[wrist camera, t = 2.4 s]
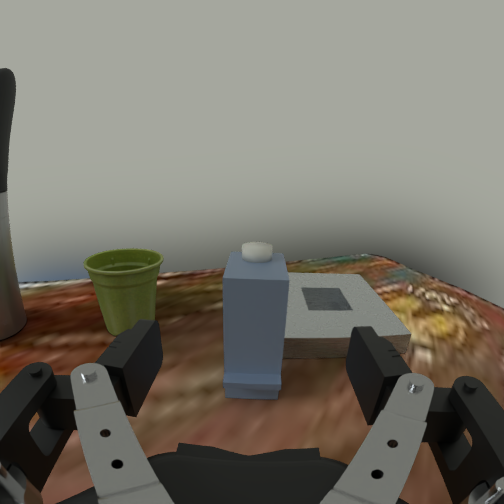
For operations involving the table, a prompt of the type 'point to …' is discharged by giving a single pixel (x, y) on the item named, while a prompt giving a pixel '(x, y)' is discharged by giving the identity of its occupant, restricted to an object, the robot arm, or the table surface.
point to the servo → (254, 321)
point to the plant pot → (125, 285)
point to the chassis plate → (335, 315)
